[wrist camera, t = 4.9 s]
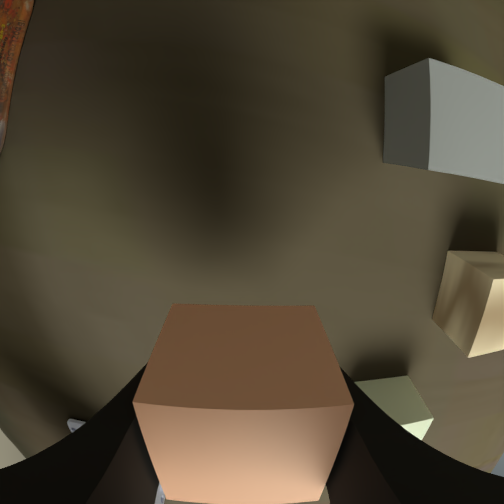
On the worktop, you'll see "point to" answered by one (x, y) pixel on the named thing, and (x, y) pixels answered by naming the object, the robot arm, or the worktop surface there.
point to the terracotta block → (243, 404)
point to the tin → (10, 51)
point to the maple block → (472, 301)
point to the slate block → (444, 121)
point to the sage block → (399, 402)
